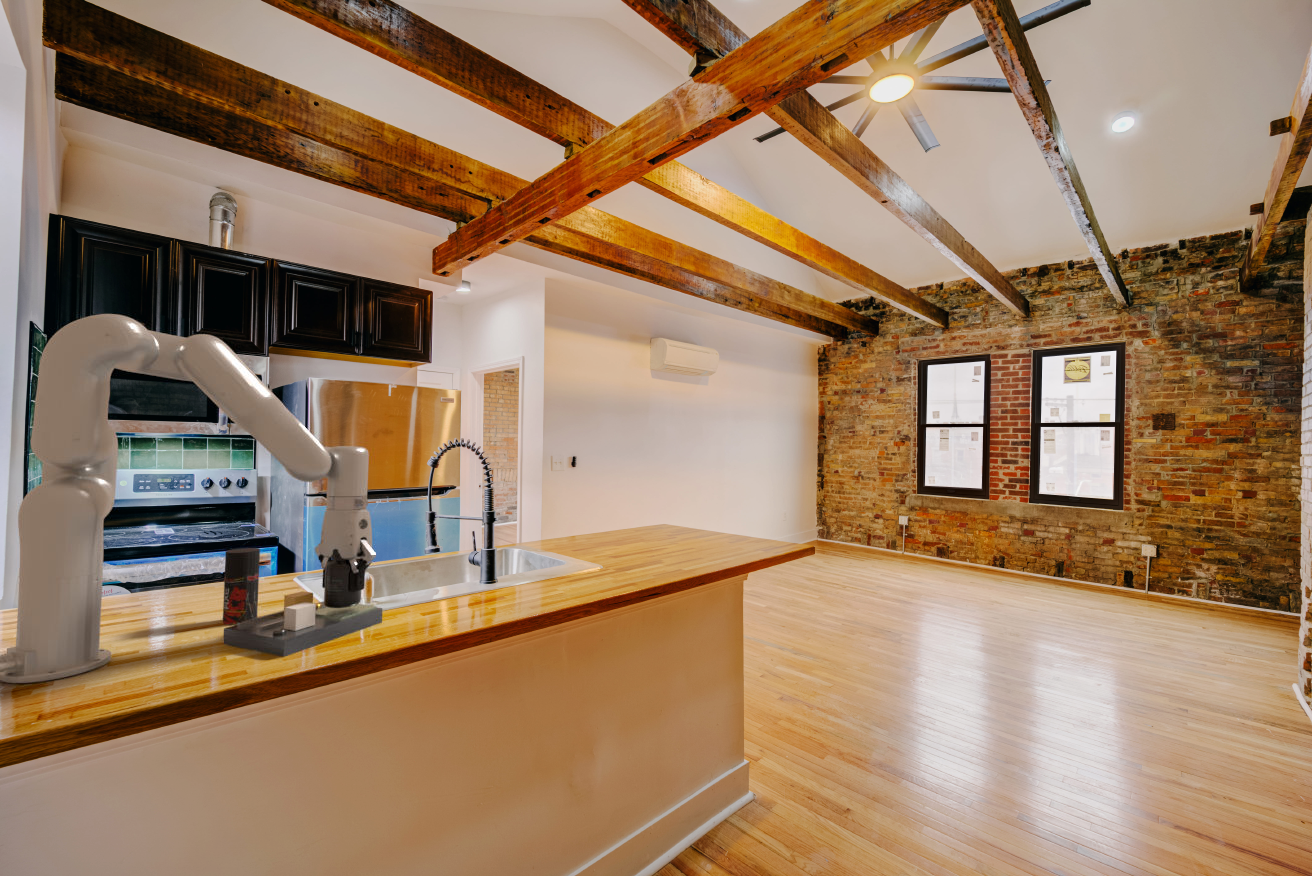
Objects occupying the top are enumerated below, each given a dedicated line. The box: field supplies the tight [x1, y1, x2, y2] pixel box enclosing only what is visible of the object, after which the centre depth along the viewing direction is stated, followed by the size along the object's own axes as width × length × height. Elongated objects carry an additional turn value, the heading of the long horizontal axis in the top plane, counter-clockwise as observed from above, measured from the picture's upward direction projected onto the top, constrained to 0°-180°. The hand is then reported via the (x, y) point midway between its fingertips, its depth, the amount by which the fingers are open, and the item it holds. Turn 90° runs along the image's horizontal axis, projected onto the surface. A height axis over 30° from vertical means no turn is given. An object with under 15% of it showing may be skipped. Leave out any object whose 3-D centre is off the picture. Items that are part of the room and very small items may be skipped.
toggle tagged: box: [283, 591, 314, 616], centre depth 115 cm, size 4×3×4 cm
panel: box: [222, 600, 383, 658], centre depth 113 cm, size 22×16×4 cm
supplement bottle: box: [323, 549, 362, 608], centre depth 118 cm, size 7×7×12 cm
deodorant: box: [222, 547, 261, 626], centre depth 120 cm, size 6×6×15 cm
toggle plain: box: [284, 602, 316, 631], centre depth 107 cm, size 4×3×4 cm
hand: (343, 588), depth 117 cm, fingers closed on supplement bottle, 6 cm apart
